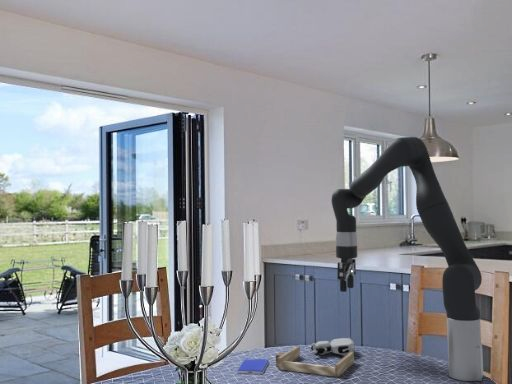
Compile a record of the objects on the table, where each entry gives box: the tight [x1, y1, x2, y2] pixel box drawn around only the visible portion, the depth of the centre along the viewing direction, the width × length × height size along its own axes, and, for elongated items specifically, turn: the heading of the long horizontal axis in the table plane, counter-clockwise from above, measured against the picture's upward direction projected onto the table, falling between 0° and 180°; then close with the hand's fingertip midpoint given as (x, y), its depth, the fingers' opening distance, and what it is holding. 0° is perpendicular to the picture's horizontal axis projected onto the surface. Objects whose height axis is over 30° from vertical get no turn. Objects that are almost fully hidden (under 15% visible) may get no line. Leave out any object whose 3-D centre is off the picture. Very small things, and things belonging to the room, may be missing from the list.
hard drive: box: [236, 358, 270, 375], centre depth 171 cm, size 2×8×12 cm
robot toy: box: [310, 337, 356, 357], centre depth 185 cm, size 12×4×15 cm
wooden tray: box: [275, 345, 355, 378], centre depth 172 cm, size 22×16×4 cm
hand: (347, 289), depth 192 cm, fingers open, 8 cm apart
